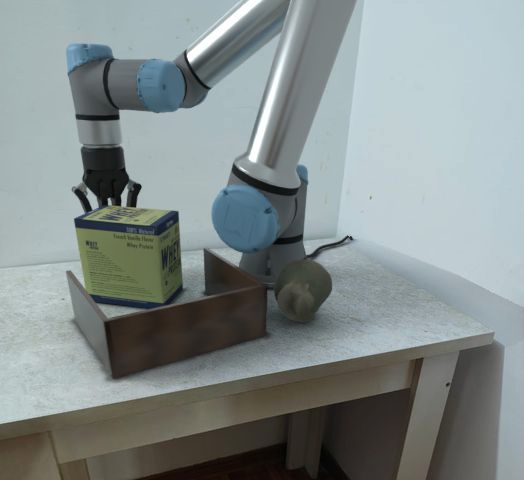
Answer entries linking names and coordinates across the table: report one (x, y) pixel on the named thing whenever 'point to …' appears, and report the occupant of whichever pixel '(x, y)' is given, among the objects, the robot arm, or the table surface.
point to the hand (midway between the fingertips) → (118, 268)
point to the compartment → (176, 321)
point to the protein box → (130, 255)
